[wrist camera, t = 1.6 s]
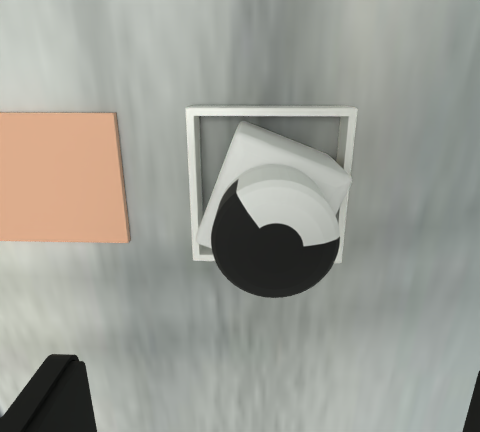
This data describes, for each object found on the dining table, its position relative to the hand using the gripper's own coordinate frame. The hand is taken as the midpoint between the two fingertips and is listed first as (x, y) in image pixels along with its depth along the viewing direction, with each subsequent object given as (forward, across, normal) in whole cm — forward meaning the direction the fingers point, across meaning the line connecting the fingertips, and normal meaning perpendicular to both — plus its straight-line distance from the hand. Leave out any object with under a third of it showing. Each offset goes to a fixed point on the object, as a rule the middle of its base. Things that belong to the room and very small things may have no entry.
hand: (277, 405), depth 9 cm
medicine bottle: (+20, -1, 0) cm, 21 cm away
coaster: (+20, +16, 0) cm, 26 cm away
